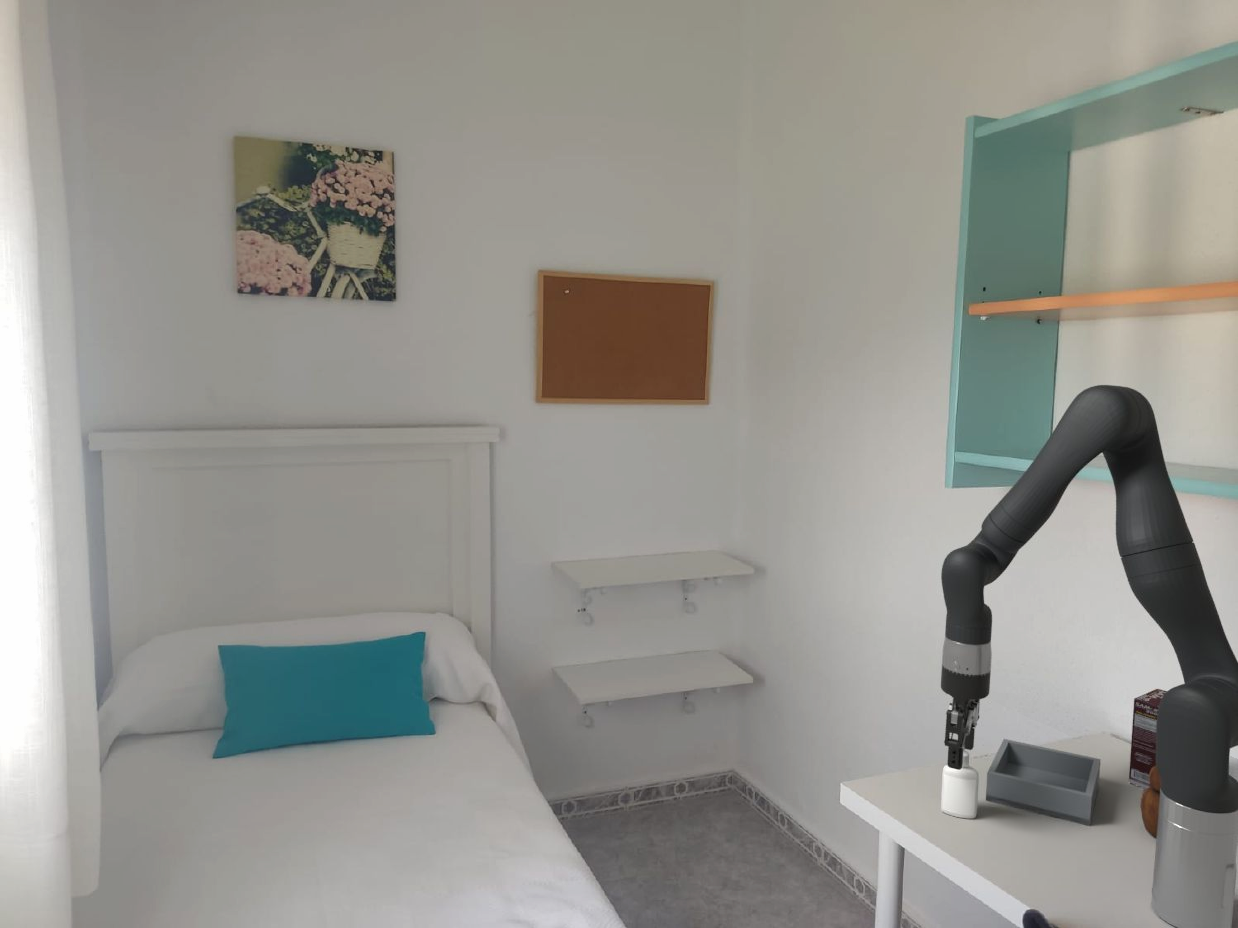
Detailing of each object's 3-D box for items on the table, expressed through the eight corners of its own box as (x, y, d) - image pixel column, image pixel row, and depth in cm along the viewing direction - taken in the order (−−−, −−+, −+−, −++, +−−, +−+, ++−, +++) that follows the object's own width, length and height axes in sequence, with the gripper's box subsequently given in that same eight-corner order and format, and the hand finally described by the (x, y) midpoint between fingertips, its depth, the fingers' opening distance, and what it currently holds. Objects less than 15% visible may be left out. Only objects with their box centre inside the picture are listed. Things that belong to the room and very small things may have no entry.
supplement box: (1150, 769, 168) (1156, 687, 166) (1178, 780, 164) (1185, 695, 162) (1126, 782, 163) (1132, 697, 161) (1154, 793, 159) (1161, 706, 157)
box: (1098, 785, 162) (1100, 759, 161) (1089, 825, 149) (1091, 796, 148) (1002, 764, 171) (1003, 738, 170) (985, 800, 157) (987, 772, 157)
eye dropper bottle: (965, 823, 149) (968, 754, 148) (936, 809, 154) (939, 742, 152) (981, 816, 152) (984, 747, 150) (952, 802, 156) (955, 735, 155)
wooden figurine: (1190, 847, 142) (1197, 756, 140) (1149, 844, 143) (1156, 753, 141) (1173, 825, 149) (1180, 738, 147) (1134, 822, 150) (1140, 735, 148)
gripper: (981, 682, 142) (975, 781, 144) (998, 656, 154) (992, 747, 156) (931, 673, 146) (926, 768, 148) (952, 647, 158) (947, 736, 160)
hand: (960, 757), depth 152 cm, fingers open, 8 cm apart
